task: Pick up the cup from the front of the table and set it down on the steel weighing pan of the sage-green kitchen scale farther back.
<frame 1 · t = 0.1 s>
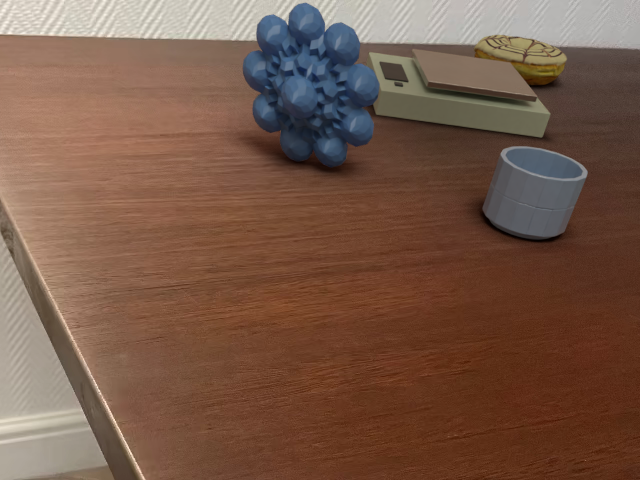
scale: (447, 104, 86), on the table
scale pan: (470, 74, 84), point 3 cm above the table, slide at 0.0 cm
cup: (521, 224, 63), on the table
blue knobbed flower: (293, 166, 67), on the table
decorated donut: (513, 76, 100), on the table
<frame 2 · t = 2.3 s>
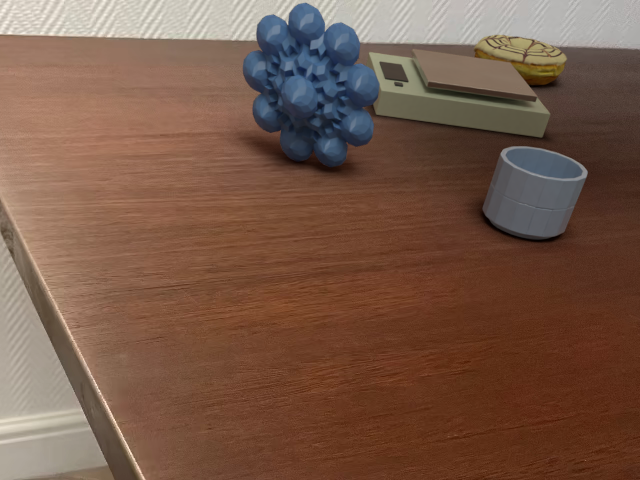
nothing on the table moved.
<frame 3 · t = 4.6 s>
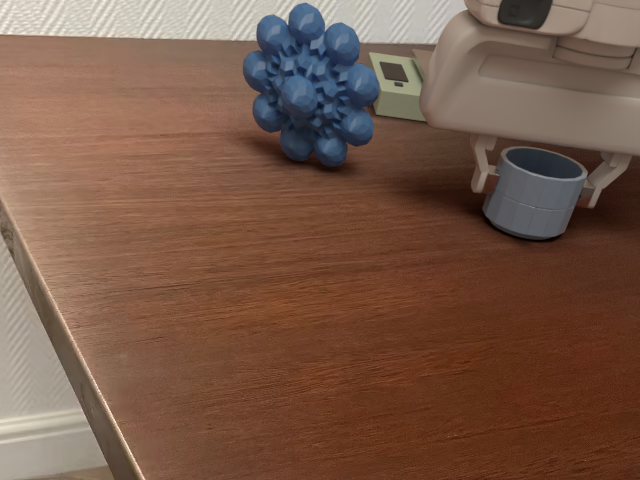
hand: (530, 197, 62), 2 cm above the table, tool pointing down, fingers closed on cup, 6 cm apart
cup: (521, 224, 63), on the table, touching gripper
everything else where it was.
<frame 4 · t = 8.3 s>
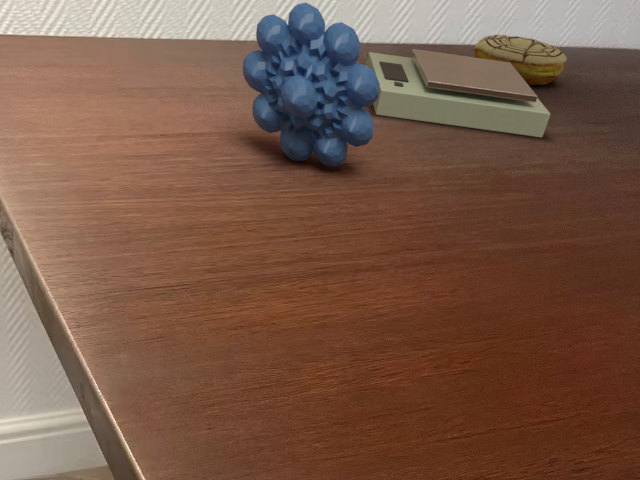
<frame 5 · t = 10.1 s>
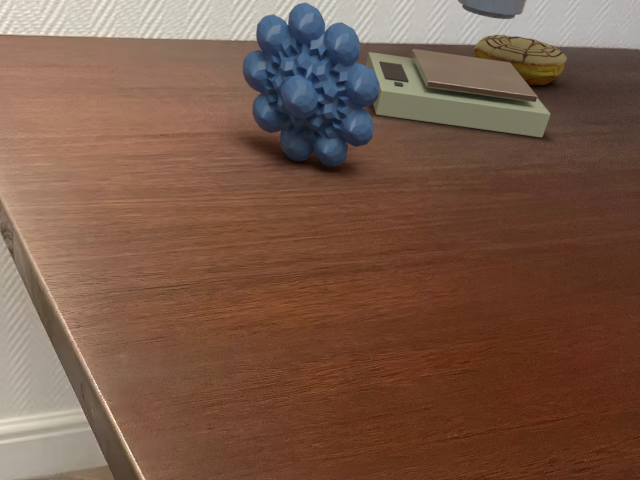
cup: (488, 11, 81), point 9 cm above the table, touching gripper
everything else where it was.
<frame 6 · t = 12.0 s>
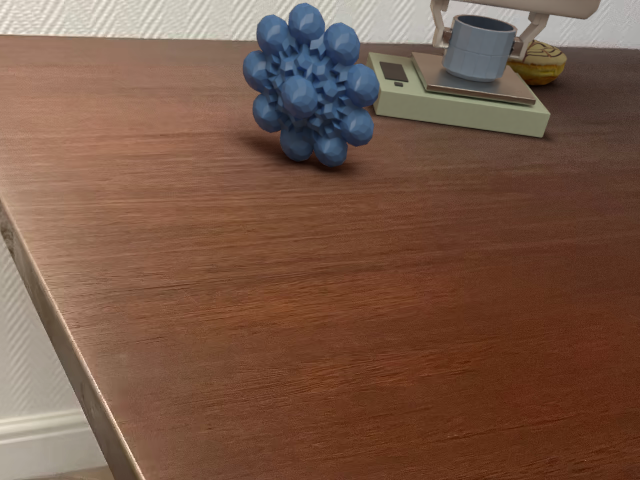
hand: (476, 52, 83), 5 cm above the table, tool pointing down, fingers closed on cup, 6 cm apart
scale pan: (469, 77, 85), point 3 cm above the table, slide at -0.3 cm, touching cup
cup: (470, 74, 84), point 3 cm above the table, touching gripper, scale pan
everything else where it was.
when the fingers open (5 cm above the table, at t = 12.1 s): cup stays where it is, resting on scale pan.
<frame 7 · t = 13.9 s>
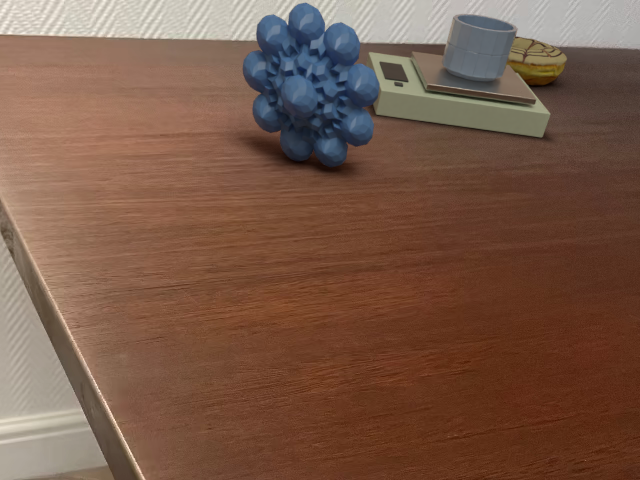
cup: (470, 73, 84), point 3 cm above the table, touching scale pan
everything else where it was.
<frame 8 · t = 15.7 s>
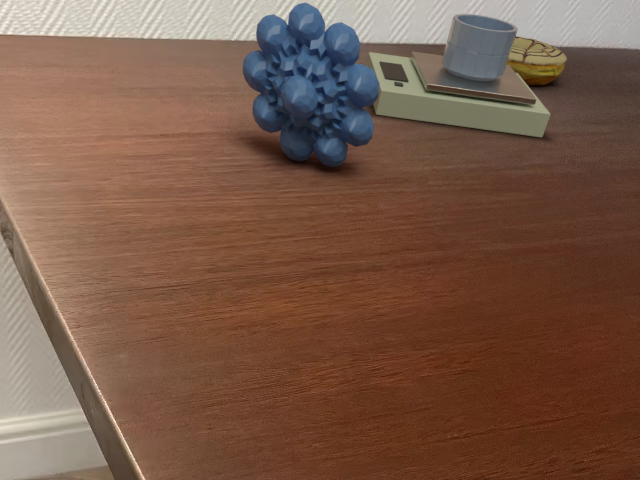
nothing on the table moved.
at the end: cup inside the target area on the scale (0.0 cm from its centre), point 3.3 cm above the scale's base; cup tilted 0°; the gripper is holding nothing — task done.
